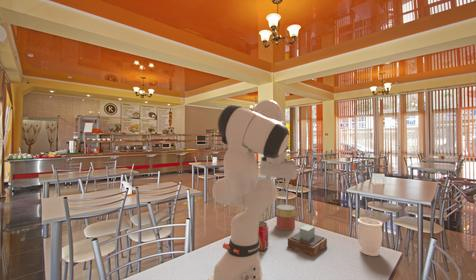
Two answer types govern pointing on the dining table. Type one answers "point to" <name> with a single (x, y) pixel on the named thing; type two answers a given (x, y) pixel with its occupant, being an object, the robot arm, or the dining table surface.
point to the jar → (369, 236)
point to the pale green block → (307, 232)
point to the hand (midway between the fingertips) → (277, 186)
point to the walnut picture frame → (307, 244)
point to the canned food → (285, 217)
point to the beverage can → (263, 235)
